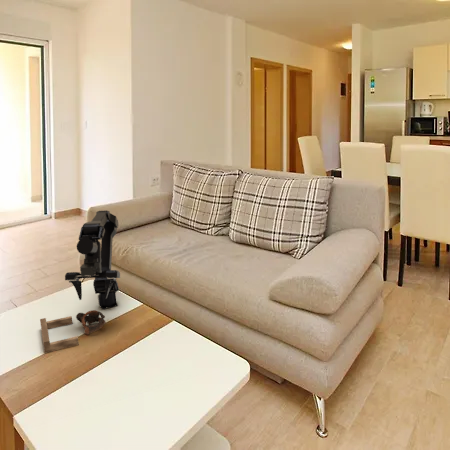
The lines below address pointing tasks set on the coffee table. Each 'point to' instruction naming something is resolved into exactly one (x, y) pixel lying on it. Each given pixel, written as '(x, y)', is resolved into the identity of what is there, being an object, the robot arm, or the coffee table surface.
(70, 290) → the coffee table surface
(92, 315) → the pottery mug
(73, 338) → the walnut guide channel
